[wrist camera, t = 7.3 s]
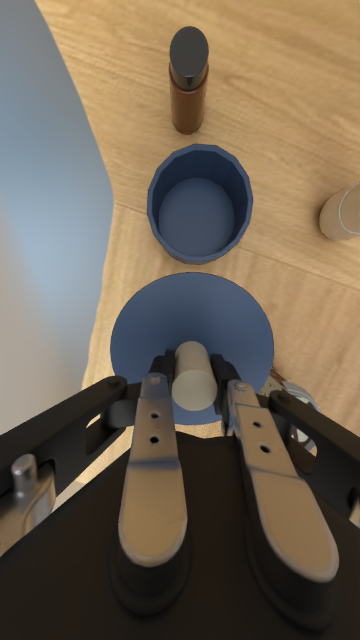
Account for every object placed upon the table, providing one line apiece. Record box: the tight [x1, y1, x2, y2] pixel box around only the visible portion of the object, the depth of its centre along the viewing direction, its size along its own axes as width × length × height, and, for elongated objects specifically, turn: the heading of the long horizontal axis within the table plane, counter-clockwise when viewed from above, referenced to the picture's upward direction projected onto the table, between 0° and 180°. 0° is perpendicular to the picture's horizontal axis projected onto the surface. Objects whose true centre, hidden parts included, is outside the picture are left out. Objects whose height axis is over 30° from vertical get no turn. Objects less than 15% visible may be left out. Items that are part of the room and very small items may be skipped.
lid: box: [110, 272, 274, 425], centre depth 13 cm, size 13×13×6 cm
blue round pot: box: [147, 144, 253, 265], centre depth 25 cm, size 12×12×6 cm
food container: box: [258, 369, 321, 452], centre depth 30 cm, size 12×6×10 cm, turn 175°
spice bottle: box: [169, 26, 209, 134], centre depth 22 cm, size 4×4×8 cm
